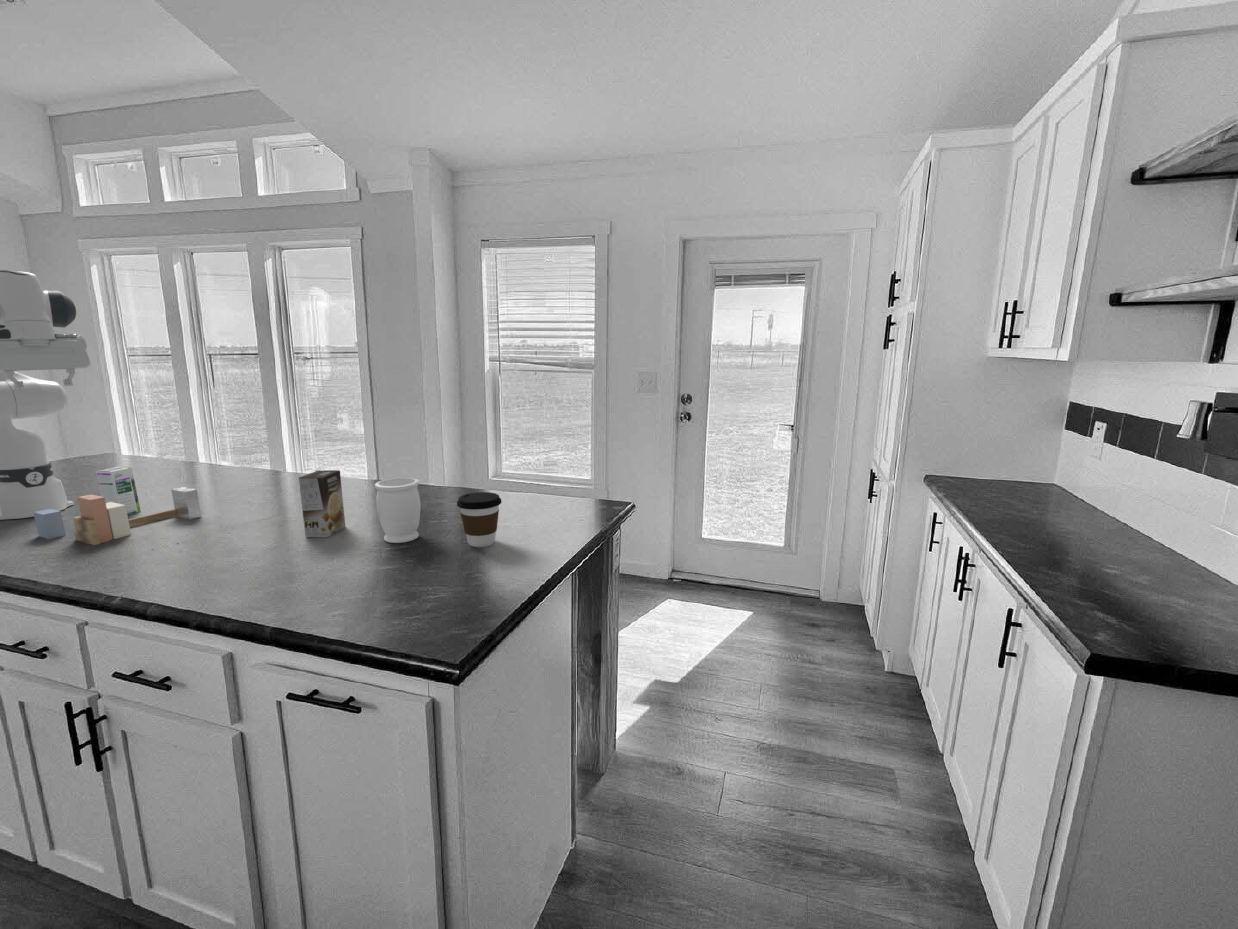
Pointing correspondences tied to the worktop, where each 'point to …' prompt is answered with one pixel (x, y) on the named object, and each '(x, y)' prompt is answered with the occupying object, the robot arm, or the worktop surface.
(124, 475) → the syrup box
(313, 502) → the coffee box
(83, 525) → the rack
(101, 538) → the book
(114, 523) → the book
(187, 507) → the bookend
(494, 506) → the coffee cup
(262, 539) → the worktop surface
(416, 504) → the jar
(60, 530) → the pale blue cuboid
